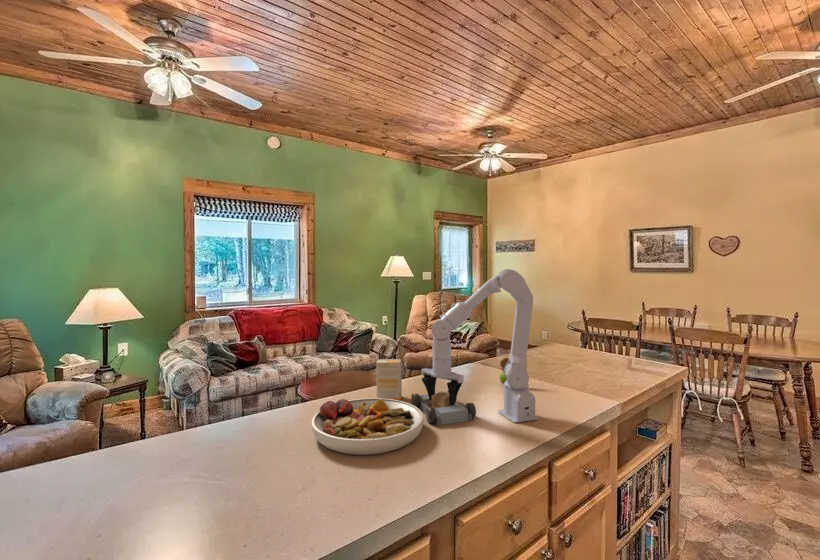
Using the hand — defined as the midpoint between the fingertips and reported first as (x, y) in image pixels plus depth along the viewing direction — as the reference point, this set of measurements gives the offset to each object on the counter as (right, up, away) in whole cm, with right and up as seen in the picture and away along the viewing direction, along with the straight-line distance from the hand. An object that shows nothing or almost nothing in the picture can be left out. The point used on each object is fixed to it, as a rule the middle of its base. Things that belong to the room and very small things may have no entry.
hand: (442, 401), depth 127 cm
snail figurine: (+27, -2, +27) cm, 38 cm away
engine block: (0, -3, 0) cm, 3 cm away
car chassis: (0, -3, 0) cm, 3 cm away
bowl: (-21, -5, -15) cm, 27 cm away
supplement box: (-17, -3, +14) cm, 22 cm away
